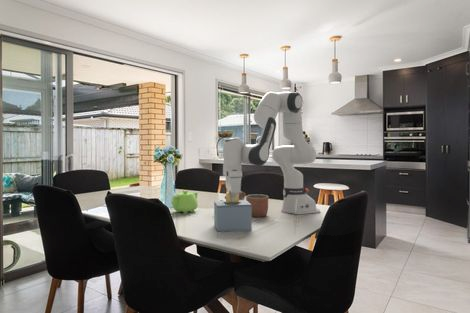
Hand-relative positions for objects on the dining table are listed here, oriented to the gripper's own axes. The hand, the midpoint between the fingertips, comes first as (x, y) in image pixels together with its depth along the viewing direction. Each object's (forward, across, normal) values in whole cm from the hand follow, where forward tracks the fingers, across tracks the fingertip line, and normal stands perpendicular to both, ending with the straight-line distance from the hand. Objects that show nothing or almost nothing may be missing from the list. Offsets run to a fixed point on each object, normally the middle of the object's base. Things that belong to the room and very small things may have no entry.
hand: (232, 200), depth 152 cm
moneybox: (+13, 0, 0) cm, 13 cm away
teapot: (+13, -40, -21) cm, 47 cm away
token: (+2, 0, 0) cm, 2 cm away
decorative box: (+14, -50, +10) cm, 52 cm away
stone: (+13, -26, 0) cm, 30 cm away
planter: (+13, -22, +18) cm, 31 cm away
